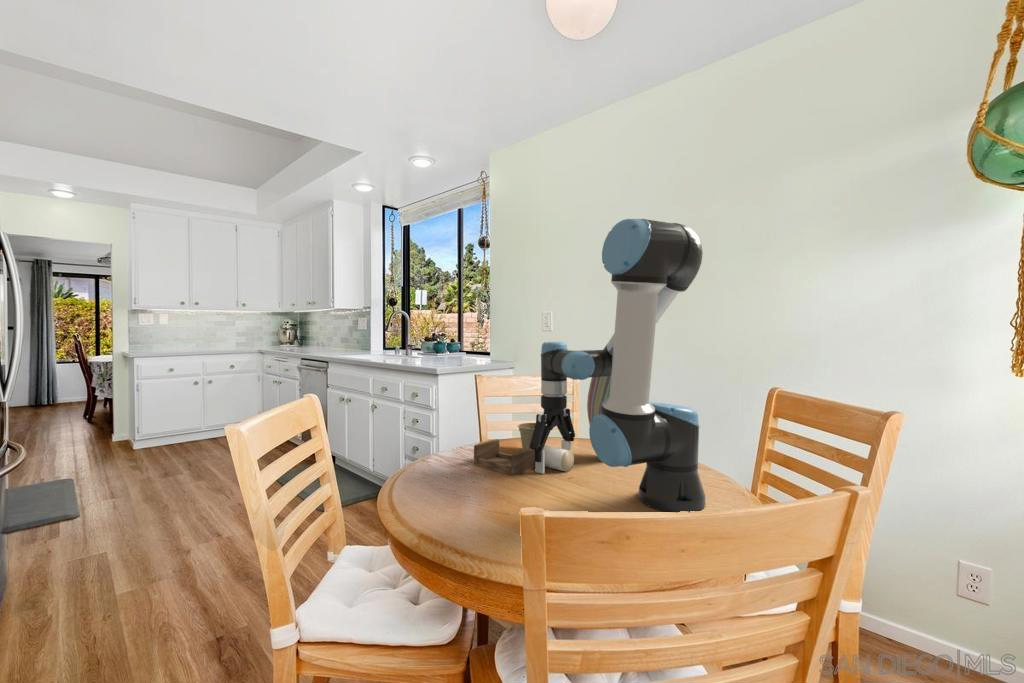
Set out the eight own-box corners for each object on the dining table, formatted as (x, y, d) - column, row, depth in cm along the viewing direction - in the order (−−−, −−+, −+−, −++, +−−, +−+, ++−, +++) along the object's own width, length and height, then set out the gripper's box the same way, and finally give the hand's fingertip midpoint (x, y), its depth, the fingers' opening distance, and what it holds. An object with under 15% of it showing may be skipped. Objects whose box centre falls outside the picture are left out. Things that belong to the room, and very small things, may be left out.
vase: (583, 453, 152) (584, 361, 150) (625, 453, 151) (626, 362, 150) (589, 466, 138) (589, 365, 137) (634, 466, 137) (636, 366, 136)
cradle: (536, 467, 136) (536, 448, 136) (514, 476, 129) (514, 455, 129) (496, 457, 147) (496, 439, 147) (474, 464, 139) (474, 445, 139)
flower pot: (514, 448, 157) (514, 423, 157) (539, 446, 160) (540, 421, 160) (522, 456, 148) (523, 429, 148) (550, 453, 151) (550, 427, 151)
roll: (573, 470, 135) (574, 449, 135) (561, 473, 131) (562, 452, 131) (545, 463, 142) (546, 443, 142) (533, 466, 137) (534, 445, 137)
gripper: (566, 388, 147) (566, 455, 148) (517, 398, 128) (516, 474, 129) (587, 391, 142) (586, 460, 143) (538, 401, 124) (538, 480, 124)
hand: (553, 467), depth 136 cm, fingers open, 12 cm apart
